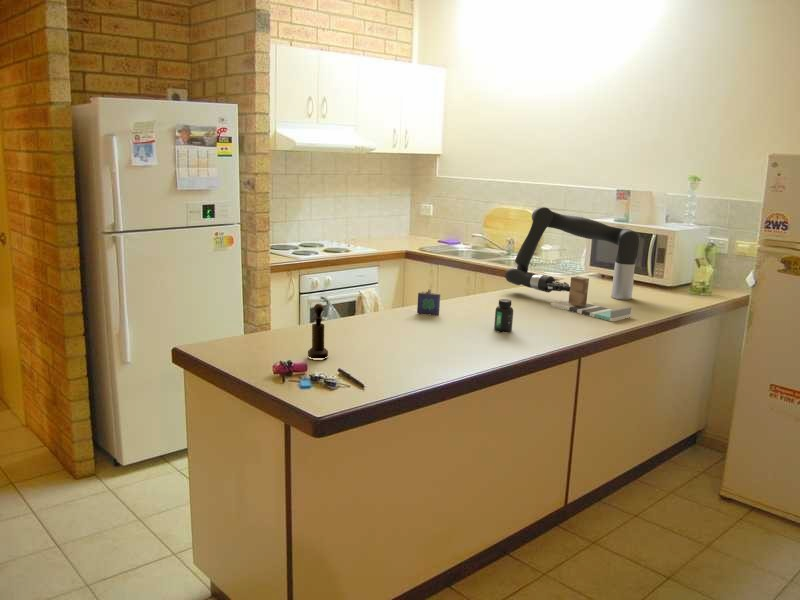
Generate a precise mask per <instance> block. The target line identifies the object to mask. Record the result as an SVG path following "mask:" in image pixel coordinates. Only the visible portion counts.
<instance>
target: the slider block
mask: <svg viewBox="0 0 800 600" xmlns="http://www.w3.org/2000/svg"><path fill="white" fill-rule="evenodd" d="M589 280H590V278H587V277H583V276H579V275H578V276H572V277H570V284H569V286H570V292H569V293H568V294H569V295H568V300H569V302H568V303H569V304H573V305H577V306H583V305H586V303H587V302H588V300H587V299H588V293H589V292H588V291H589V282H590V281H589ZM587 304H588V303H587Z"/></svg>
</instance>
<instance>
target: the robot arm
mask: <svg viewBox="0 0 800 600" xmlns="http://www.w3.org/2000/svg"><path fill="white" fill-rule="evenodd" d="M531 220H532V224H531V227H530V229H529V231H528V234H527V236H526V238H525V239H524V241H523V242H522V244H521V246H520V248H519V251H518V252H517V254H516V257H515V260H514V263H515V264H517V265H516V268H509V269H507V270H506V272H505V274H504V278H505V280H506V281H507V282H508V283H510V284H513V285H516V286H524V287H526V288H530V289H532V290H533V289H534V290H536V291H540V292H543V293H544V292H545V293H551V292H569V293H570V284H568V283H567V282H565V281H564V282H560V281H558V280H555V278H554V276H550V275H545V274H541V273H533V272H528V271H529V265H530V263H531V261H532V259H533V256H534V254H535V251H536V250H537V247H538V245H539V242H540V240H541V239H542V236H543V234H545V231H546V229H547V228H550V229H557V230H559V231H562V232H564V233H567V234H570V235H573V236H576V237H580V238H584V239H587V240H588V239H589V240H592V241H593V240H595V241H605V242H608V243H612V244H615V245H617V246H618V247H617V248H618V250H617V254H616V256H615V260H614V261H615V262H614V269H613V278H612V286H611V287H612V288H611V296H610V298H613V299H616V300H626V301H627V300H628V301H629V300H631V298H633V290H634V289H633V288H634V280H635V279H634V275H635V268H636V260H637V258H638V254H639V248H640V247H639V246H640V236H639V234H638V233H637V232H636V231H634V230H632V229H629V228H622V227H615V226H609V225H607V224H605V223H602V222H599V221H596V220H594V219H589V218H587V217H583V216H575V215H569V214H568V215H566V214H561V213H558V212H556V211H552V210H551V209H550V208H548V207H547V206H541V207H537V208H536V209H535V210H533V212H532V215H531Z"/></svg>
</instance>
